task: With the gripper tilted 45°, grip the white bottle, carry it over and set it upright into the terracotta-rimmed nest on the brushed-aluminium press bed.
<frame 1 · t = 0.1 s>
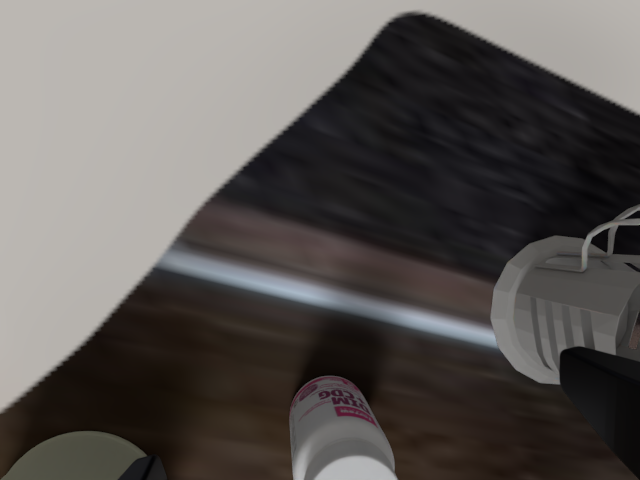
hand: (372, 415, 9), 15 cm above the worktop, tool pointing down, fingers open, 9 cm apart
pill bottle: (327, 410, 24), on the worktop
french press: (553, 297, 26), on the worktop
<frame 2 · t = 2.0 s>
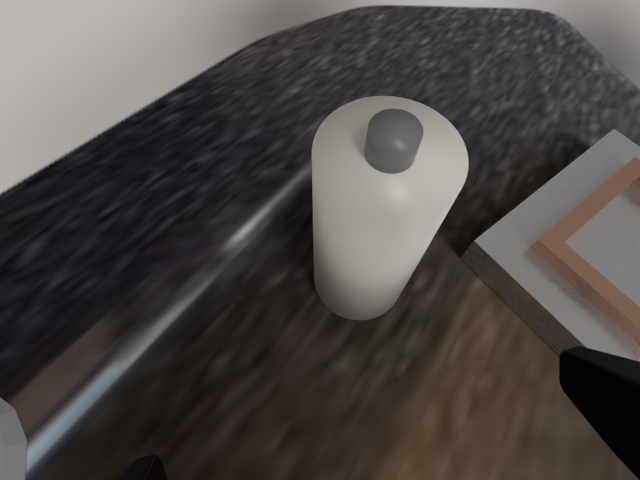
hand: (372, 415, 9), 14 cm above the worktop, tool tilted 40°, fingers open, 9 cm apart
press bed: (619, 276, 25), on the worktop
white bottle: (358, 276, 25), on the worktop
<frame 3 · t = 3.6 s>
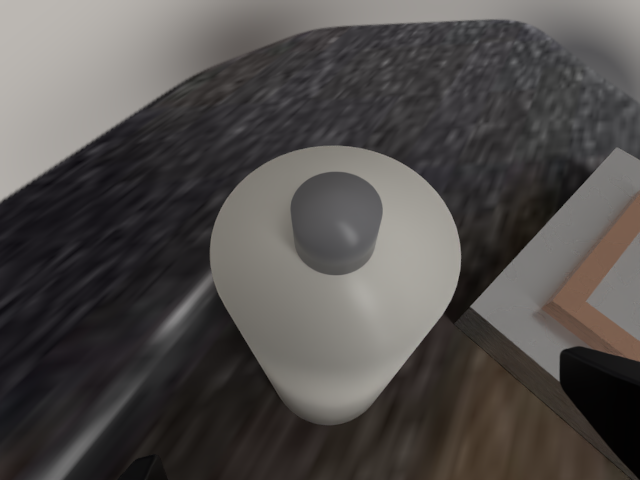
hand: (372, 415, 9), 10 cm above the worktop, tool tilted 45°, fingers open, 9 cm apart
white bottle: (327, 362, 19), on the worktop
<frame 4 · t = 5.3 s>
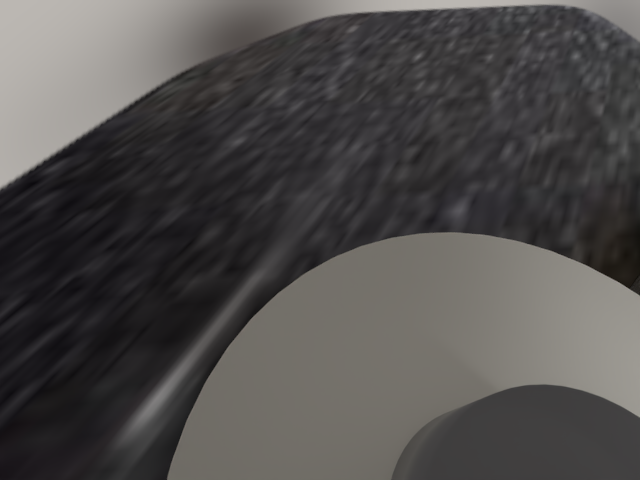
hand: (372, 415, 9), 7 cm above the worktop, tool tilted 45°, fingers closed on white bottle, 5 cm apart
white bottle: (363, 478, 14), on the worktop, touching gripper
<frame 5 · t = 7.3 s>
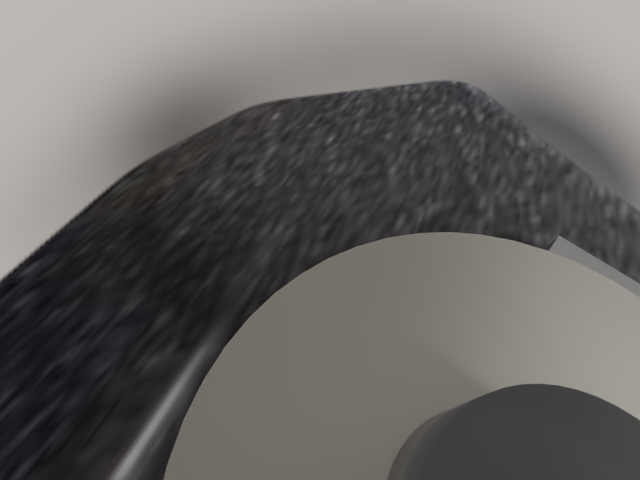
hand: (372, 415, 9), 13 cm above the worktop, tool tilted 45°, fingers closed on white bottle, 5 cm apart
press bed: (603, 427, 20), on the worktop
white bottle: (362, 478, 14), point 6 cm above the worktop, touching gripper
when the fingers open (10 cm above the worktop, at t = 9.2 s): white bottle drops 1 cm, resting on press bed.
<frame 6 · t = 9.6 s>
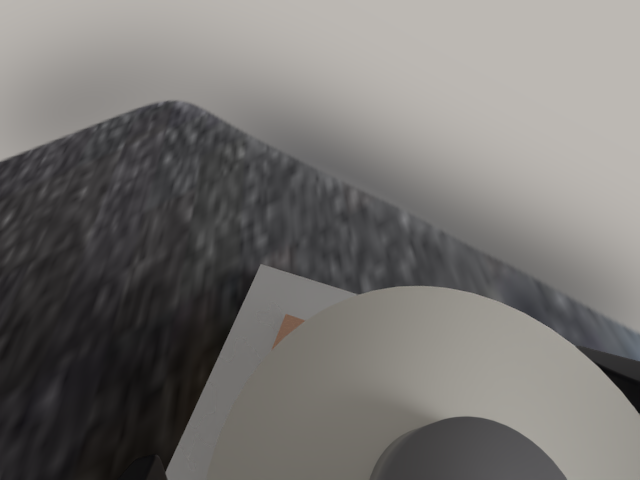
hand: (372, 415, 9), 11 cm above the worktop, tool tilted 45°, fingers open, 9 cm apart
press bed: (354, 474, 17), on the worktop
white bottle: (359, 477, 15), point 3 cm above the worktop, touching press bed
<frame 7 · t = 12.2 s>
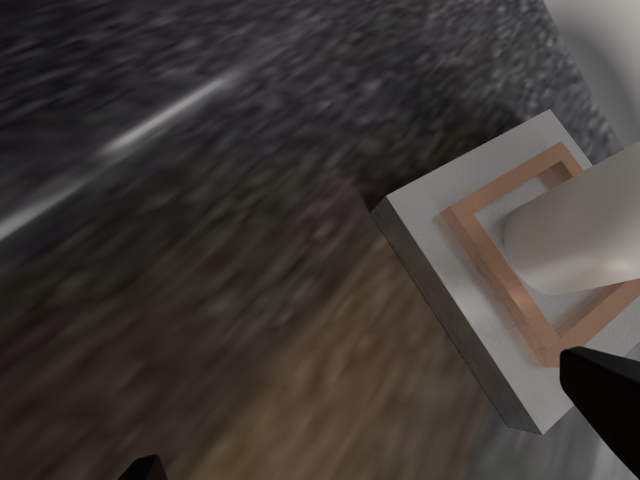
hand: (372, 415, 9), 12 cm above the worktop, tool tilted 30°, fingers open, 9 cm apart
press bed: (516, 258, 25), on the worktop
white bottle: (546, 247, 23), point 3 cm above the worktop, touching press bed
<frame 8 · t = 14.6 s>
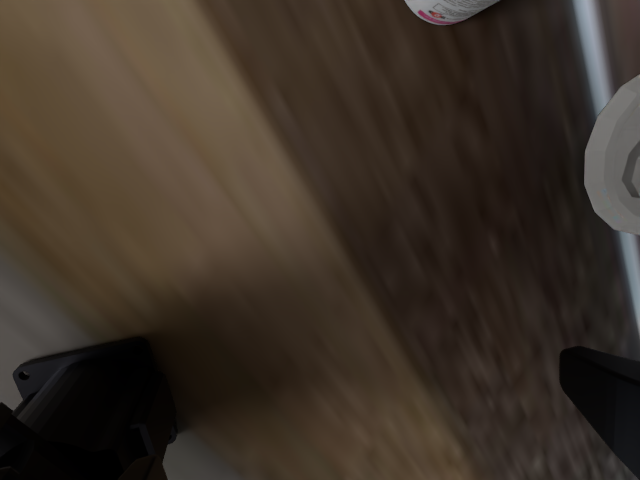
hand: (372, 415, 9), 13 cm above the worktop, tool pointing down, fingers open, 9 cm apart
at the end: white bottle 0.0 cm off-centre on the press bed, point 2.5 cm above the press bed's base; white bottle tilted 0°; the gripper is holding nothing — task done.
